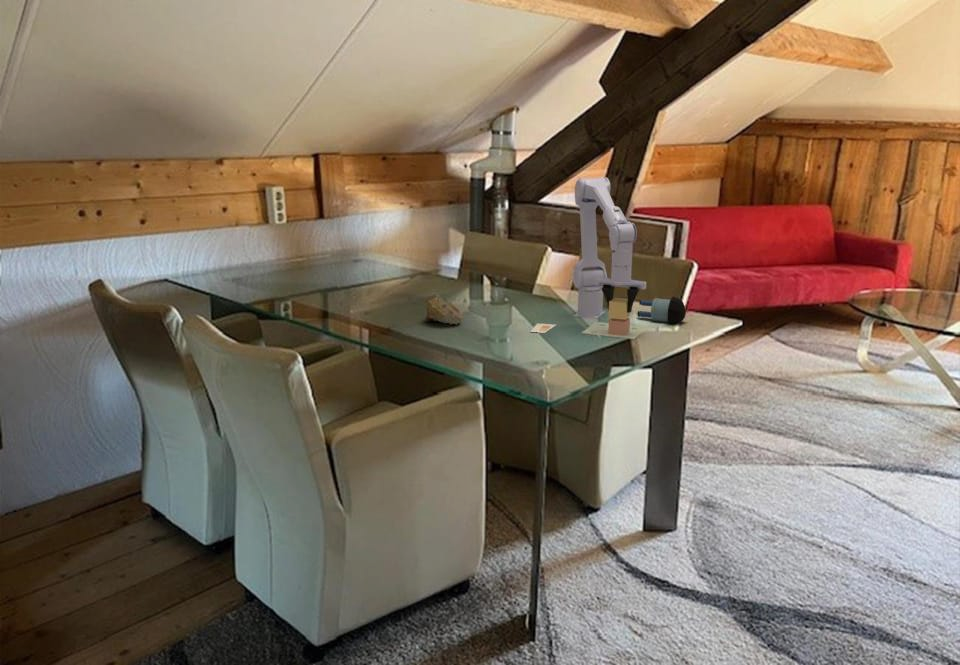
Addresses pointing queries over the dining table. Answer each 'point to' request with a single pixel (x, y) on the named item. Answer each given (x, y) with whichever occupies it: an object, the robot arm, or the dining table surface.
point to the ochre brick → (618, 308)
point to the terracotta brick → (619, 326)
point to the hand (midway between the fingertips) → (619, 311)
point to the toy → (664, 310)
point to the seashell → (442, 311)
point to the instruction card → (542, 328)
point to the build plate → (602, 329)
